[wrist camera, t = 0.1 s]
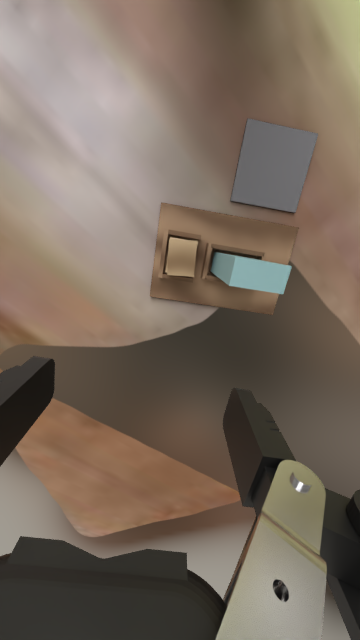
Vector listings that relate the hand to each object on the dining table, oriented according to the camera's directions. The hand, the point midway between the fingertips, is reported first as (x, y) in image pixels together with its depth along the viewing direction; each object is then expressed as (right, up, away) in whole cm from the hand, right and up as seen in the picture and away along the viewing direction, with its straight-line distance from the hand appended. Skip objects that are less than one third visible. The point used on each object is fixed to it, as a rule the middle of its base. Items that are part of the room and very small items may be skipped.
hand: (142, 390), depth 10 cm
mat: (+15, +25, +23) cm, 37 cm away
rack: (+8, +12, +27) cm, 31 cm away
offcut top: (+2, +12, +24) cm, 27 cm away
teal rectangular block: (+10, +12, +26) cm, 30 cm away
